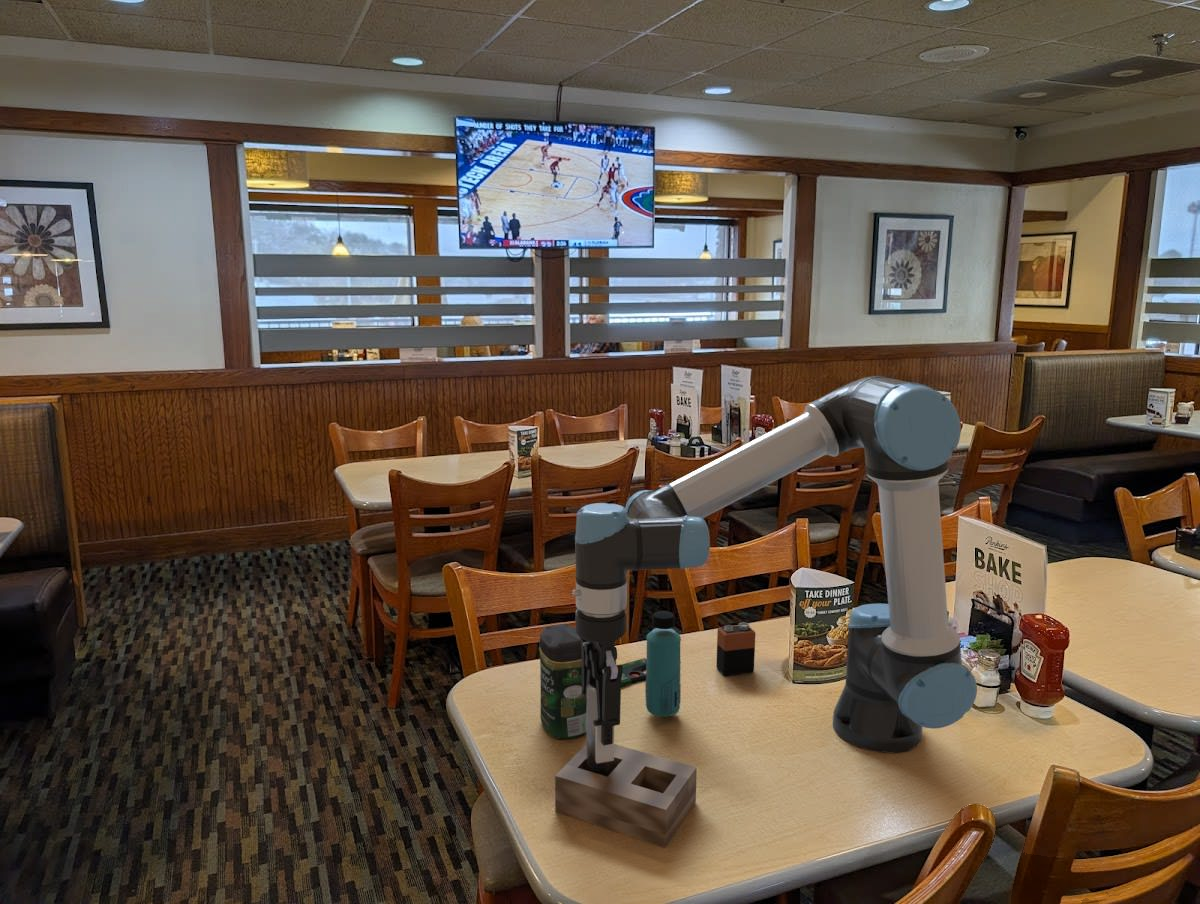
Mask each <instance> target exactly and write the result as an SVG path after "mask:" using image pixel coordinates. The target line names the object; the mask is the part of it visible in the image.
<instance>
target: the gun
mask: <svg viewBox="0 0 1200 904" xmlns="http://www.w3.org/2000/svg"><path fill="white" fill-rule="evenodd" d="M646 663H647V657H644V658H643V657H642V658H639V659H637V660H636V659H635V660H633V661H629V662H625V663H622V664H620V665H622V667H623V673H622V678H621V689H623V688H625V687H627V686H630V684H631V685H634V684H637V683H641V682H646V680H645V679H646V674H645V673H646V672H643V671H646V668H645V667H646ZM622 687H623V688H622Z"/></svg>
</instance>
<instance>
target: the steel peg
mask: <svg viewBox="0 0 1200 904" xmlns="http://www.w3.org/2000/svg"><path fill="white" fill-rule="evenodd" d="M595 720H598V710H597V692H596V682H593V683H590V684H589V685H588V686H587V771H590V772H593V773H597V774H600V775H603V776H607V777H608V776H609V775H610V774H611V772H612V771H613V761H608V762H603V763H596V761H595V736H596V726H594V723H593V721H595Z"/></svg>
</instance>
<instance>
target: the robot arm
mask: <svg viewBox="0 0 1200 904" xmlns="http://www.w3.org/2000/svg"><path fill="white" fill-rule="evenodd" d="M961 428H962V427H961V420H960V416H959V412H958V411H957V409H956V407H955V405H954V404H953V403H952V401H951V400H950V398H948V397H947V396H945V395H944V394H943V393H942V392H941V391H937V390H936V389H934V388H932V387H930V386H928V385H925V384H922V383H917V382H909V381H903V380H900V379H895V378H893V377H891V376H890V377H888V376H884V375H872V376H865V377H862V378H860V379H856V380H854V381H851V382H849V383H847V384H845V385H843V386H840V387H838V388H837V389H834V390H833V391H831V392H829V393H827V394H825V395H823V396H821V397H820V398H818V399H816V400H813V401H811V402H809V404H808V403H807V405H805V408H804V410H803V413H802V414H800V415H798V416H797V417H795V418H793V419H790V420H789V421H787V422H784V423H783V424H781V425H779V426H777V427H775V428H773V429H772V430H770V431H768V432H766V433H765V434H762V435H759V436H758V437H756V438H755V439H753V440H751V441H749V442H747V443H745V444H743V445H741V446H739V447H738V448H735V449H733V450H731V451H730V452H728V453H726V454H724V455H722V456H720V457H719V458H716V459H715V460H713V461H711V462H709V463H707V464H705V465H703V466H701V467H698V468H697V469H696V470H693V471H692V472H689V473H688V474H686V475H684V476H681V477H679V478H678V479H676V480H675V481H673V482H671V483H668V484H667V485H663V486H662V487H661V488H658V489H656V490H650V489H646V490H645V489H643V490H639V491H637V492H635V493H634V494H633V495H631V496H630V497H629V499H628V500H627V501H626V504H625V507H624V506H623V505H621V504H620V505H619V504H616V503H607V502H598V503H597V502H596V503H590V504H586V505H584V506H581V508H580V509H579V510H577V512H576V518H575V519H576V524H575V535H574V544H575V546H574V547H575V548H574V551H575V552H574V554H575V555H574V556H575V558H574V559H575V562H574V563H575V564H574V565H575V589H572V591H571V593H572V596H573V597H575V606H576V608H577V609H576V610H575V612H574V613H575V621H574V623H575V625H574V628H575V630H576V633H577V635H578V636H579V637H580V639H581V649H582V694H583V695H586V696H585V702H586V704H587V686H588V685H589V684H590V683H593V682H596V692H597V710H598V720H595V721H593V723H594V726H596V736H595V761H596V763H603V762H608V761H614V744H615V726H620V725H621V705H622V704H621V698H622V697H621V696H622V688H621V678H622V673H623V667H622V665H621V664H617V659H618V649H617V647H616V645H615V643H616V642H617V641H618V640H620V639H622V638H623V637H624V636H625V634H626V631H627V611H626V607H627V605H628V581H627V580H628V579H627V574H628V571H639V570H667V569H668V570H670V569H673V570H674V569H677V570H678V569H681V570H685V569H690V568H698V567H703V566H704V565H706V563H707V561H708V559H709V556H710V551H711V549H710V547H711V545H710V543H711V542H710V539H711V538H710V532H709V527H708V524H707V522H706V520H705V518H706V517H708V516H710V515H712V514H713V513H716V512H718V511H719V510H721V509H723V508H725V507H728V506H729V505H732V504H733V503H735V502H737V501H739V500H741V499H744V498H745V497H746V496H748V495H750V494H752V493H754V492H756V491H759V490H760V489H763V488H765V487H766V486H768V485H770V484H772V483H773V482H776V481H777V480H779V479H781V478H783V477H785V476H787V475H789V474H790V473H791V474H792V473H793V472H795V471H797V470H799V469H800V468H803V467H804V466H806V465H808V464H810V463H812V462H814V461H816V460H818V459H820V458H822V457H823V456H830V457H837V456H839V455H841V454H843V453H845V452H847V451H851V450H854V449H855V450H856V449H861V448H862V449H863V448H864V458H865V459H864V461H865V470H866V471H865V473H866V476H867V477H868V478H869V479H871V480H872V481H873V482H874V483H876V485H877V488H878V499H879V500H878V501H879V510H880V522H881V535H882V544H883V546H882V547H883V556H884V566H885V567H884V568H885V579H886V589H887V590H886V591H887V603H868V604H867V603H866V604H862V605H859V606H857V607H855V608H854V609H853V610H852V611H851V612H850V617H849V623H848V626H847V629H848V637H847V653H846V670H845V671H846V673H845V685H844V687H843V689H842V691H841V694H840V696H839V697H838V700H837V703H836V705H835V707H834V709H833V712H832V713H833V714H832V728H833V730H834V731H835V733H836V734H838V735H837V736H839V737H840V738H842V740H844V741H846V742H848V743H849V744H852V745H854V746H856V747H859V748H861V749H865V750H869V751H872V752H878V753H880V752H881V753H902V752H907V751H910V750H912V749H914V748H915V749H916V747H917V746H919V745H920V743H921V742H922V737H923V735H922V733H923V728H925V729H942V728H945V727H949V726H951V725H954V724H955V723H957V722H959V721H960V720H961V719H963V717H964V715H965V714H966V713H968V712H969V711H971V709H972V707H973V705H974V703H975V701H976V698H977V693H978V684H977V680H976V678H975V676H974V675H973V674H972V671H971V670H970V669H969V668H968V667H967V666H966V665H965V664H963V662H962V650H961V639H960V635H959V633H958V632H957V630H955V629H954V628H953V627H952V626H950V625H949V618H948V616H949V615H948V604H947V603H948V602H947V591H946V590H947V589H946V588H947V587H946V575H945V573H946V572H945V560H944V543H943V532H942V519H941V504H940V503H941V502H940V501H941V500H940V486H939V481H940V480H941V479H942V478H943V477H944V476H945V475H946V474H947V473H948V472H949V459H950V458H952V456H953V451H954V450H956V449H957V447H958V445H959V442H960V439H961V434H962V433H961V431H962V429H961ZM585 734H586V744H585V745H587V725H586V733H585Z"/></svg>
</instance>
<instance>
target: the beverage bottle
mask: <svg viewBox="0 0 1200 904" xmlns="http://www.w3.org/2000/svg"><path fill="white" fill-rule="evenodd" d="M652 615H653V616H652V622H651V625H652V627H653V629H652V630H651V631H649V633H647V635H646V639H645V640H646V659H647V663H646V667H645V668H646V670H645V672H644V673H645V674H646V679H645V680H646V681H645V690H644V692H645V696H644V697H645V707H646V710H647V712H649V714H651V715H653V716H657V717H671V716H674V715H676V714H677V713H679V712H680V708H681V707H680V706H681V703H682V702H681V693H682V692H681V687H682V684H681V657H682V656H681V640H682V638H681V635H680V634H679V633H678V632H677V631H676V630H675V629H674V628H675V626H676V620H675V614H674V613H673V612H671V611H667V610H658V611H655V612H654V613H653V614H652Z"/></svg>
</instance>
